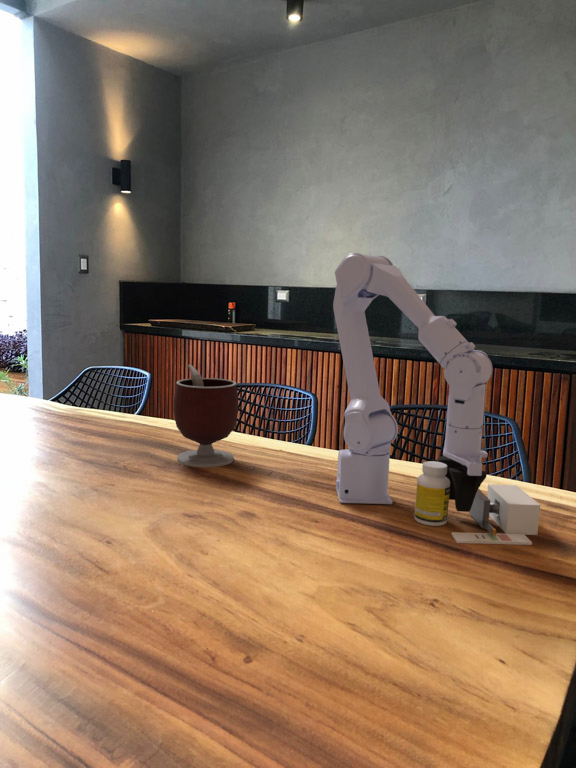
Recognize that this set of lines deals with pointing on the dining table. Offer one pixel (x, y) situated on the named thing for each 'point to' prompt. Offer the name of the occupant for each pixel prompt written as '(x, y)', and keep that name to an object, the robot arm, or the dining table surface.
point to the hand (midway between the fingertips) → (458, 504)
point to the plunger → (483, 511)
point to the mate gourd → (205, 417)
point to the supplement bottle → (432, 494)
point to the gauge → (508, 517)
